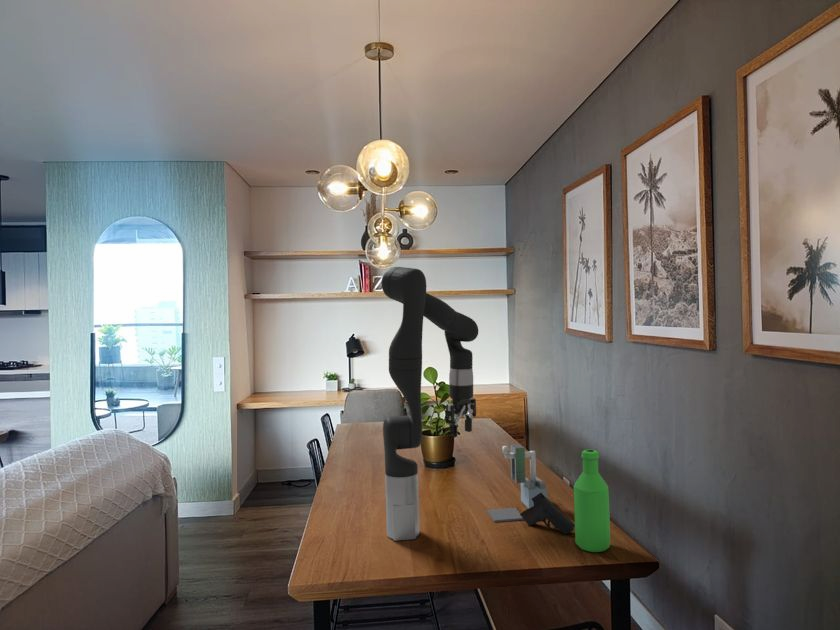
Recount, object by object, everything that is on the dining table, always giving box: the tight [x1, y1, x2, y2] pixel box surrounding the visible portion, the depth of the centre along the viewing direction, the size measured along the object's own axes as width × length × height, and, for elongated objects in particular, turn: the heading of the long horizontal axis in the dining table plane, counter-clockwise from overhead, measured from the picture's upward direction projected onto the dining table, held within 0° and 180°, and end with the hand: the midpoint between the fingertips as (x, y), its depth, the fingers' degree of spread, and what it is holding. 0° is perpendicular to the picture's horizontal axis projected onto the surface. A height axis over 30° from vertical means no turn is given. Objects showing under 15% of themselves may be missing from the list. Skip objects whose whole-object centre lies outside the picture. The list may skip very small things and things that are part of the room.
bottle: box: [573, 449, 611, 553], centre depth 143 cm, size 9×9×25 cm
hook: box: [509, 443, 526, 484], centre depth 175 cm, size 5×3×11 cm, turn 8°
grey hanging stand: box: [502, 445, 548, 509], centre depth 176 cm, size 8×13×19 cm, turn 98°
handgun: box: [520, 493, 575, 536], centre depth 156 cm, size 3×14×10 cm
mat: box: [486, 507, 525, 523], centre depth 166 cm, size 9×9×1 cm
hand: (461, 434), depth 171 cm, fingers open, 8 cm apart
